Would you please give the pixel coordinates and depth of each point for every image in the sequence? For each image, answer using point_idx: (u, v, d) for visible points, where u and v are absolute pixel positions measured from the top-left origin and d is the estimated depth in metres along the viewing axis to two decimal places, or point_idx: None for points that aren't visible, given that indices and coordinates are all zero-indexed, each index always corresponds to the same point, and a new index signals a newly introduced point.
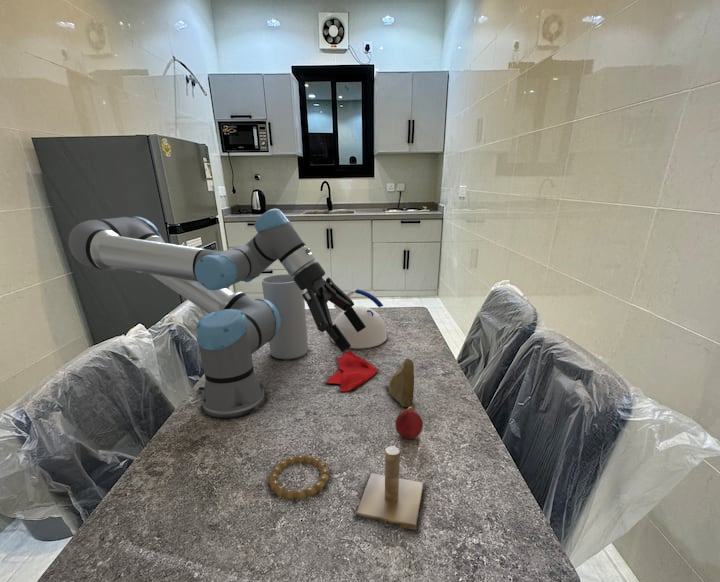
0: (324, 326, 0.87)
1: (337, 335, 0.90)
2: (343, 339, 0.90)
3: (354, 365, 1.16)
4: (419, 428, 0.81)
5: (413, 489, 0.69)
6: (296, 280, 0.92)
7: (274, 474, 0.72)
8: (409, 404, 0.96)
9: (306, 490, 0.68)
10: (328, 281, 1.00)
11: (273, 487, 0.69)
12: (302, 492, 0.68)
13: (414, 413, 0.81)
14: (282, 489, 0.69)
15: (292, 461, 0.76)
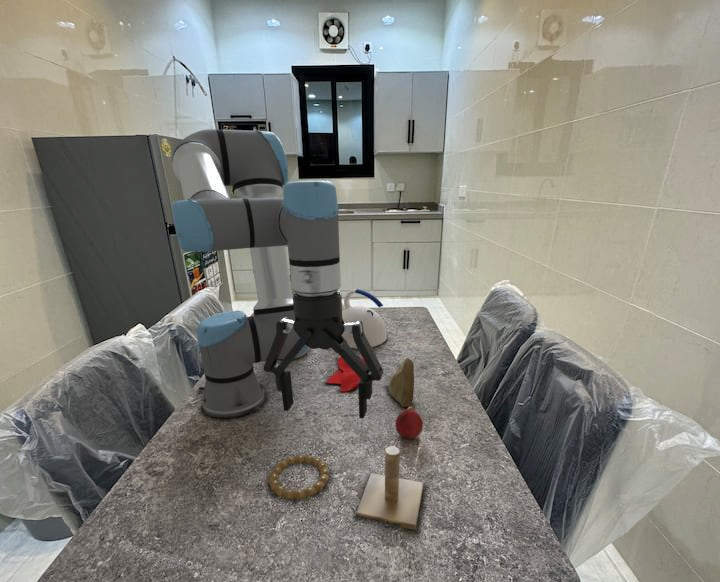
0: None
1: (279, 388, 0.66)
2: None
3: None
4: (419, 428, 0.81)
5: (413, 489, 0.69)
6: None
7: (274, 474, 0.72)
8: (409, 404, 0.96)
9: (306, 490, 0.68)
10: None
11: (273, 487, 0.69)
12: (302, 492, 0.68)
13: (414, 413, 0.81)
14: (282, 489, 0.69)
15: (292, 461, 0.76)
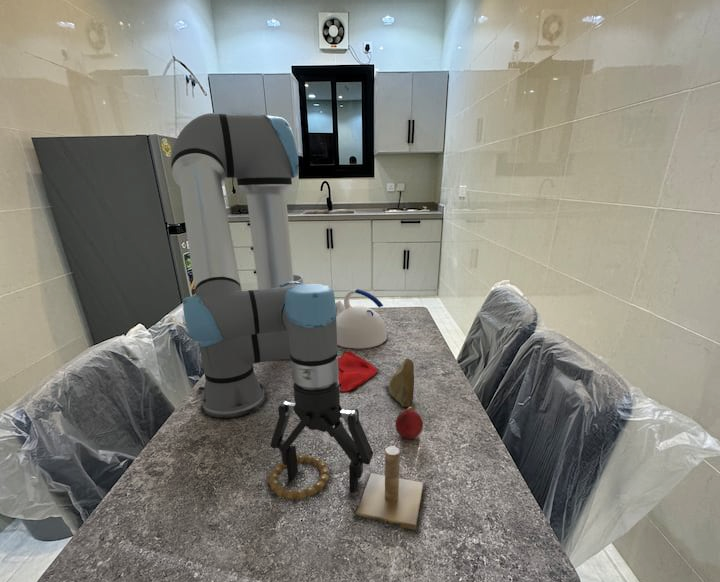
0: None
1: (285, 462, 0.71)
2: None
3: (354, 365, 1.16)
4: (419, 428, 0.81)
5: (413, 489, 0.69)
6: None
7: (274, 474, 0.72)
8: (409, 404, 0.96)
9: (306, 490, 0.68)
10: (348, 418, 0.63)
11: (273, 487, 0.69)
12: (302, 492, 0.68)
13: (414, 413, 0.81)
14: (282, 489, 0.69)
15: None
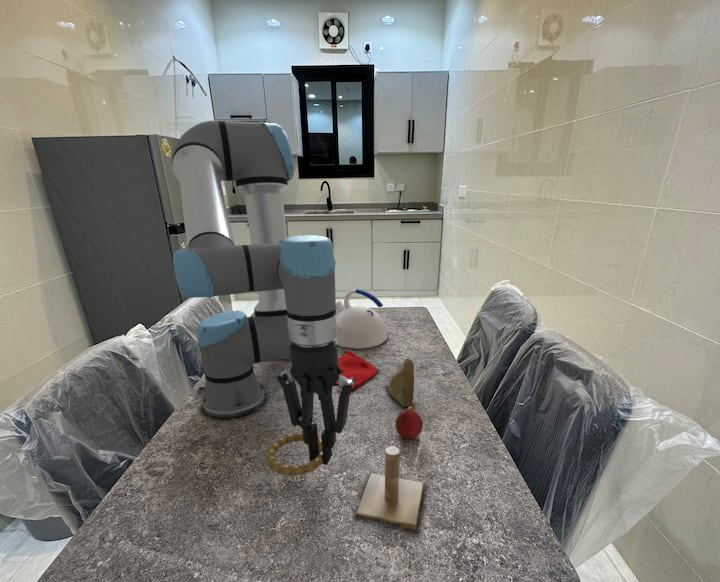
0: None
1: (306, 440, 0.68)
2: None
3: (354, 365, 1.16)
4: (419, 428, 0.81)
5: (413, 489, 0.69)
6: None
7: (271, 450, 0.71)
8: (409, 404, 0.96)
9: (303, 465, 0.66)
10: (344, 385, 0.61)
11: (269, 462, 0.68)
12: (299, 467, 0.66)
13: (414, 413, 0.81)
14: (279, 464, 0.67)
15: (290, 438, 0.74)
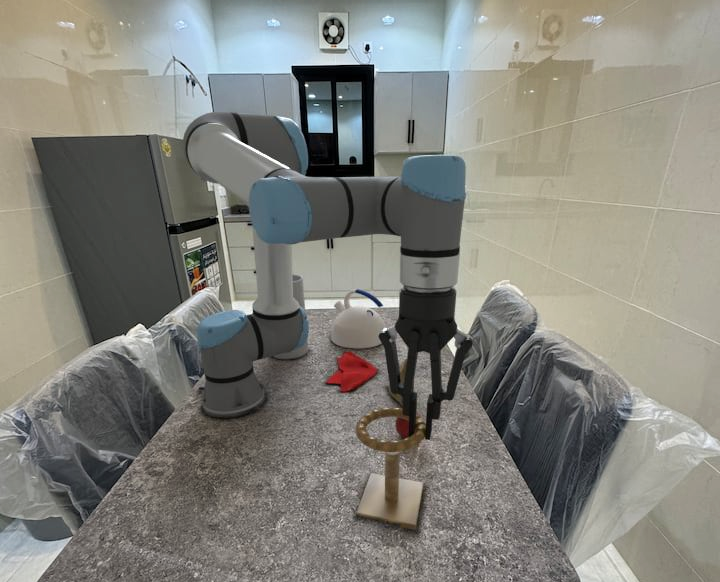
0: None
1: (405, 412, 0.59)
2: (409, 423, 0.59)
3: (354, 365, 1.16)
4: None
5: (413, 489, 0.69)
6: None
7: (362, 425, 0.61)
8: None
9: (405, 440, 0.57)
10: (463, 341, 0.52)
11: (364, 438, 0.58)
12: (401, 442, 0.56)
13: None
14: (376, 439, 0.57)
15: (379, 413, 0.65)
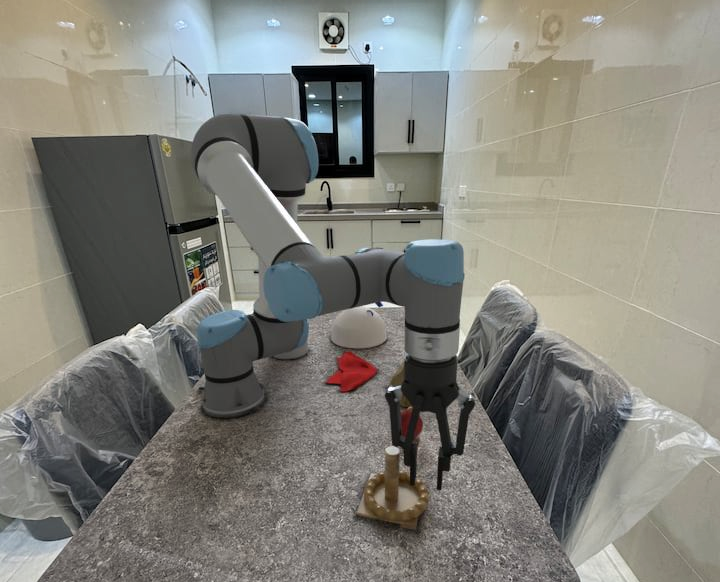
0: None
1: (406, 462, 0.62)
2: (410, 472, 0.63)
3: (354, 365, 1.16)
4: (419, 428, 0.81)
5: (413, 489, 0.69)
6: None
7: (369, 491, 0.66)
8: (409, 404, 0.96)
9: (409, 511, 0.62)
10: (466, 402, 0.55)
11: (371, 506, 0.63)
12: (405, 513, 0.62)
13: None
14: (382, 509, 0.63)
15: None
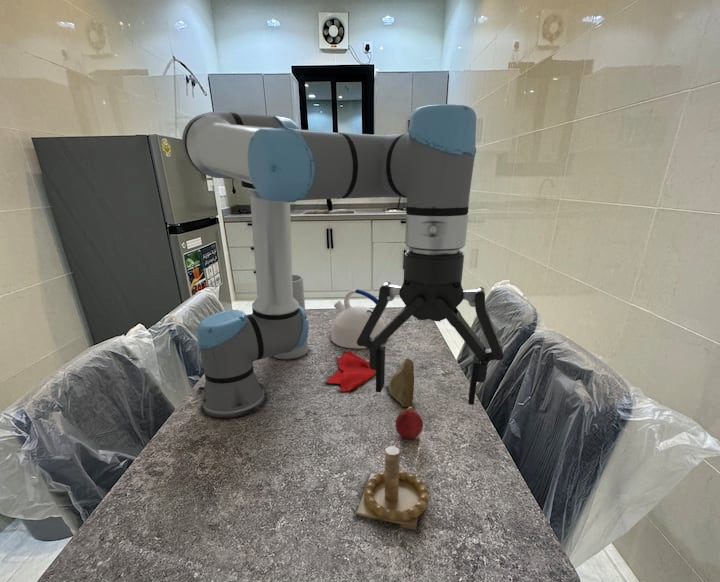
0: None
1: (373, 365, 0.57)
2: (376, 377, 0.57)
3: (354, 365, 1.16)
4: (419, 428, 0.81)
5: (413, 489, 0.69)
6: None
7: (369, 491, 0.66)
8: (409, 404, 0.96)
9: (409, 511, 0.62)
10: (475, 297, 0.49)
11: (371, 506, 0.63)
12: (405, 513, 0.62)
13: (414, 413, 0.81)
14: (382, 509, 0.63)
15: None
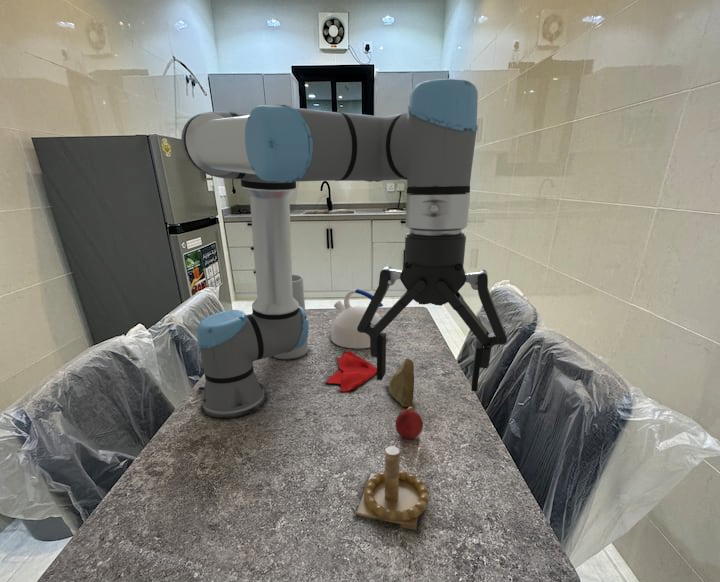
0: None
1: (373, 353, 0.56)
2: (377, 364, 0.56)
3: (354, 365, 1.16)
4: (419, 428, 0.81)
5: (413, 489, 0.69)
6: None
7: (369, 491, 0.66)
8: (409, 404, 0.96)
9: (409, 511, 0.62)
10: (477, 279, 0.48)
11: (371, 506, 0.63)
12: (405, 513, 0.62)
13: (414, 413, 0.81)
14: (382, 509, 0.63)
15: None
